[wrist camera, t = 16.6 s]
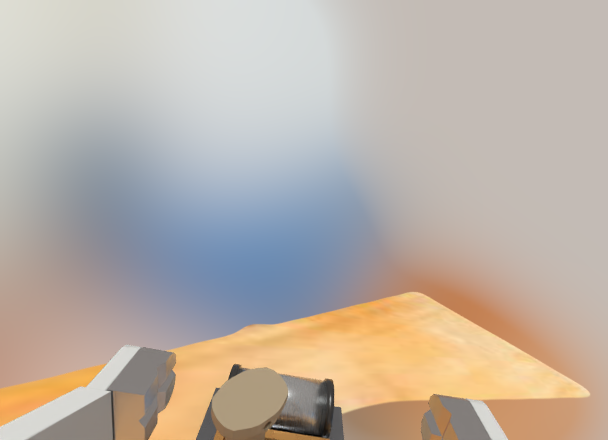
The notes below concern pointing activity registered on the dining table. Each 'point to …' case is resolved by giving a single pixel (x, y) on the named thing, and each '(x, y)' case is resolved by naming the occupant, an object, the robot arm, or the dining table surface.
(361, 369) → the dining table surface
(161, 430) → the dining table surface
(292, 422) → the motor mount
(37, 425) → the robot arm
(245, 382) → the handle
